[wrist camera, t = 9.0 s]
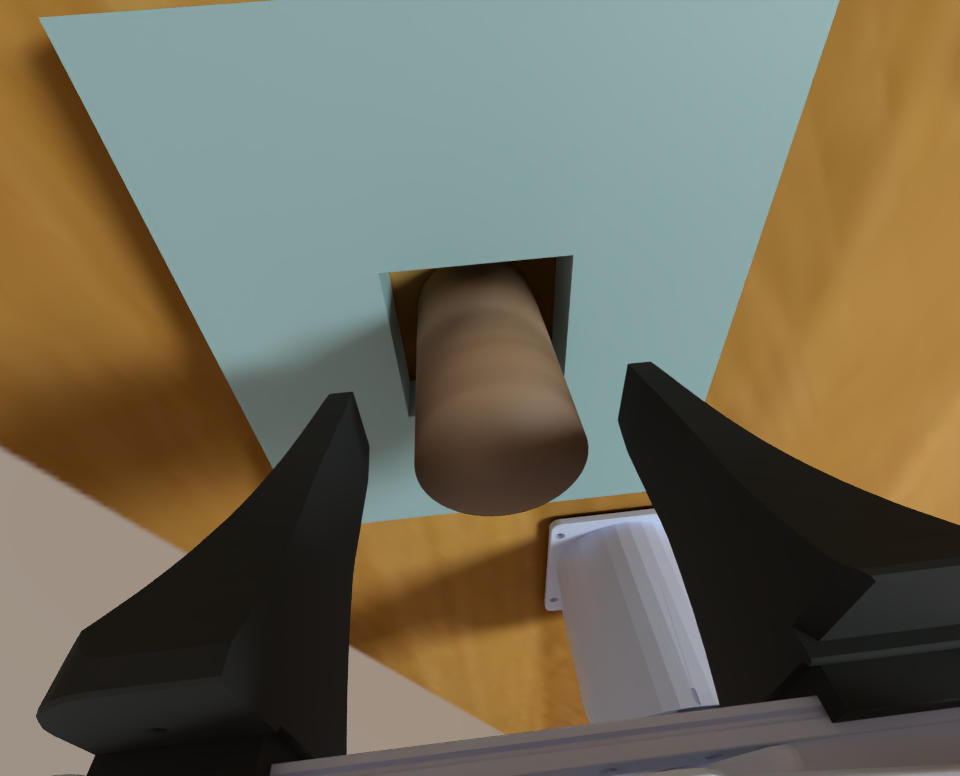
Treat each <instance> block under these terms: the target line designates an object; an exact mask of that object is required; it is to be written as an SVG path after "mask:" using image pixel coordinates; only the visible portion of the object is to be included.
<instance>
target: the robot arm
mask: <svg viewBox="0 0 960 776" xmlns="http://www.w3.org/2000/svg"><path fill="white" fill-rule="evenodd" d="M618 424H619V427H620V430H621V434H622V437H623V440H624V443H625V446H626V449H627V452H628V454H629V457H630V459H631V461H632V463H633V465H634V467H635V469H636V472H637V474H638V476H639V478H640V480H641V482H642V484H643V486H644V488H645V490H646V492H647V494H648V496H649V499H650V501H651V503H652V505H653V507H654V508H653V509H645V510H636V511H627V512H618V513H609V514H600V515H592V516H583V517H574V518H565V519H558V520H555V521H553V522H552V523H551V524H550V526H549V541H548V556H547V571H546V586H545V601H544V604H545V608H546V610H548V611H556V610H562V613H563V618H564V622H565V626H566V631H567V635H568V640H569V644H570V649H571V653H572V658H573V662H574V666H575V671H576V675H577V680H578V684H579V689H580V693H581V697H582V702H583V706H584V709H585V712H586V715H587V717H588V719H589V721H590V723H591V724H587V725H579V726H571V727H563V728H555V729H547V730H539V731H531V732H523V733H516V734H508V735H500V736H492V737H484V738H476V739H468V740H460V741H452V742H445V743H437V744H428V745H420V746H412V747H405V748H397V749H389V750H381V751H373V752H365V753H357V754H349V755H347V753H346V752H347V749H346V742H347V740H346V738H347V684H348V653H349V633H350V613H351V598H352V583H353V571H354V564H355V556H356V550H357V545H358V539H359V533H360V527H361V522H362V516H363V510H364V504H365V498H366V492H367V486H368V476H369V450H370V446H369V443H368V439H367V436H366V433H365V429H364V426H363V423H362V419H361V416H360V413H359V409H358V406H357V403H356V399H355V396H354V393H353V392H343V393H333V394H329V395H328V396H327V397H326V399H325V400H324V402H323V403H322V404H321V406H320V407H319V409H318V410H317V412H316V413H315V414H314V416H313V417H312V419H311V420H310V422H309V423H308V424H307V426H306V427H305V429H304V430H303V431H302V433H301V434H300V435H299V437H298V438H297V439H296V441H295V442H294V443H293V445H292V446H291V447H290V449H289V450H288V451H287V453H286V454H285V455H284V457H283V458H282V459H281V460H280V462H279V463H278V464H277V465H276V466H275V468H274V469H273V470H272V471H271V472H270V474H269V475H268V476H267V477H266V478H265V479H264V481H263V482H262V483H261V484H260V485H259V486H258V488H257V489H256V490H255V491H254V492H253V493H252V494H251V495H250V496H249V497H248V498H247V499H246V501H245V502H244V503H243V504H242V505H241V506H240V507H239V508H238V509H237V510H236V511H235V512H234V513H233V514H232V515H231V516H230V517H229V518H228V519H226V520H225V521H224V522H223V523H222V524H221V525H220V526H219V527H218V528H216V529H215V530H214V531H213V532H212V533H211V534H210V535H209V536H207V537H206V538H205V539H204V540H203V541H202V542H201V543H200V544H199V545H197V546H196V547H195V548H194V549H193V550H192V551H190V552H189V553H188V554H187V555H186V556H184V557H183V558H182V559H181V560H180V561H178V562H177V563H176V564H174V565H173V566H172V567H171V568H170V569H168V570H167V571H166V572H164V573H163V574H162V575H160V576H159V577H158V578H156V579H155V580H154V581H153V582H151V583H150V584H149V585H147V586H146V587H144V588H143V589H142V590H140V591H139V592H138V593H137V594H135V595H133V596H132V597H131V598H129V599H128V600H126V601H125V602H123V603H122V604H120V605H119V606H118V607H116V608H115V609H113V610H112V611H110V612H109V613H107V614H106V615H105V616H103V617H102V618H100V619H99V620H97V621H96V622H94V623H93V624H92V625H90V626H88V627H87V628H86V629H84V630H82V631H81V633H80V635H79V636H78V638H77V640H76V641H75V643H74V645H73V647H72V648H71V650H70V652H69V654H68V655H67V657H66V659H65V661H64V663H63V665H62V666H61V668H60V670H59V672H58V674H57V676H56V677H55V679H54V681H53V683H52V685H51V687H50V688H49V690H48V692H47V694H46V696H45V698H44V699H43V701H42V703H41V705H40V707H39V708H38V712H37V715H36V718H37V720H38V722H39V723H40V725H41V727H42V728H43V729H44V730H46V731H47V732H49V733H51V734H52V735H54V736H56V737H58V738H60V739H62V740H65V741H67V742H69V743H71V744H73V745H75V746H77V747H79V748H82V749H84V750H86V751H88V752H90V753H92V754H95V757H94V760H93V762H92V764H91V766H90V769H89V771H88V774H87V776H960V525H957V524H954V523H951V522H948V521H945V520H942V519H940V518H937V517H934V516H931V515H928V514H925V513H922V512H919V511H916V510H913V509H911V508H908V507H905V506H902V505H900V504H897V503H894V502H892V501H889V500H887V499H884V498H882V497H879V496H877V495H874V494H872V493H869V492H867V491H864V490H862V489H860V488H857V487H855V486H853V485H850V484H848V483H846V482H843V481H841V480H839V479H837V478H835V477H833V476H830V475H828V474H826V473H824V472H822V471H820V470H818V469H816V468H814V467H811V466H809V465H807V464H805V463H803V462H801V461H800V460H798V459H796V458H794V457H792V456H790V455H788V454H786V453H785V452H783V451H781V450H779V449H777V448H776V447H774V446H772V445H770V444H768V443H767V442H765V441H763V440H761V439H760V438H758V437H756V436H755V435H753V434H752V433H750V432H748V431H747V430H745V429H744V428H742V427H741V426H739V425H738V424H736V423H734V422H733V421H731V420H730V419H728V418H727V417H725V416H724V415H723V414H721V413H720V412H718V411H717V410H715V409H714V408H712V407H711V406H710V405H708V404H707V403H706V402H704V401H703V400H701V399H700V398H699V397H697V396H696V395H695V394H693V393H692V392H691V391H689V390H688V389H687V388H685V387H684V386H683V385H681V384H680V383H679V382H677V381H676V380H675V379H674V378H672V377H671V376H670V375H668V374H667V373H666V372H664V371H663V370H662V369H660V368H659V367H658V366H656V365H655V364H653V363H652V362H651V361H650V362H640V363H630V364H628V365H627V370H626V376H625V381H624V387H623V393H622V398H621V404H620V409H619V415H618ZM54 776H83V775H73V774H67V775H54Z"/></svg>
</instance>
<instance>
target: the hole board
mask: <svg viewBox="0 0 960 776" xmlns="http://www.w3.org/2000/svg"><path fill="white" fill-rule="evenodd" d="M838 3H839V0H274V1H260V2H246V3H233V4H219V5H205V6H192V7H178V8H164V9H151V10H137V11H123V12H110V13H96V14H83V15H69V16H55V17H42V18H39V19H40V21H41V23H42V25H43V27H44V29H45V31H46V33H47V35H48V37H49V39H50V41H51V43H52V44H53V46H54V48H55V50H56V52H57V54H58V56H59V58H60V60H61V62H62V64H63V66H64V68H65V69H66V71H67V73H68V75H69V77H70V79H71V81H72V83H73V85H74V87H75V89H76V91H77V93H78V95H79V96H80V98H81V100H82V102H83V104H84V106H85V108H86V110H87V112H88V114H89V116H90V118H91V120H92V121H93V123H94V125H95V127H96V129H97V131H98V133H99V135H100V137H101V139H102V141H103V143H104V145H105V147H106V148H107V150H108V152H109V154H110V156H111V158H112V160H113V162H114V164H115V166H116V168H117V170H118V172H119V173H120V175H121V177H122V179H123V181H124V183H125V185H126V187H127V189H128V191H129V193H130V195H131V197H132V198H133V200H134V202H135V204H136V206H137V208H138V210H139V212H140V214H141V216H142V218H143V220H144V222H145V224H146V225H147V227H148V229H149V231H150V233H151V235H152V237H153V239H154V241H155V243H156V245H157V247H158V249H159V250H160V252H161V254H162V256H163V258H164V260H165V262H166V264H167V266H168V268H169V270H170V272H171V274H172V276H173V277H174V279H175V281H176V283H177V285H178V287H179V289H180V291H181V293H182V295H183V297H184V299H185V301H186V302H187V304H188V306H189V308H190V310H191V312H192V314H193V316H194V318H195V320H196V322H197V324H198V326H199V328H200V329H201V331H202V333H203V335H204V337H205V339H206V341H207V343H208V345H209V347H210V349H211V351H212V353H213V354H214V356H215V358H216V360H217V362H218V364H219V366H220V368H221V370H222V372H223V374H224V376H225V378H226V380H227V381H228V383H229V385H230V387H231V389H232V391H233V393H234V395H235V397H236V399H237V401H238V403H239V405H240V406H241V408H242V410H243V412H244V414H245V416H246V418H247V420H248V422H249V424H250V426H251V428H252V430H253V431H254V433H255V435H256V437H257V439H258V441H259V443H260V445H261V447H262V449H263V451H264V453H265V455H266V457H267V458H268V460H269V462H270V464H271V466H272V468H273V469H274V468H275V466H276V465H277V464H278V463H279V462H280V460H281V459H282V458H283V457H284V455H285V454H286V453H287V451H288V450H289V449H290V447H291V446H292V445H293V443H294V442H295V441H296V439H297V438H298V437H299V435H300V434H301V433H302V431H303V430H304V429H305V427H306V426H307V424H308V423H309V422H310V420H311V419H312V417H313V416H314V414H315V413H316V412H317V410H318V409H319V407H320V406H321V404H322V403H323V402H324V400H325V399H326V397H327V396H328V395H329V394H333V393H343V392H353V393H354V396H355V399H356V403H357V406H358V409H359V413H360V416H361V419H362V423H363V426H364V429H365V433H366V436H367V439H368V443H369V446H370V450H369V476H368V486H367V492H366V498H365V504H364V510H363V516H362V522H361V523H369V522H378V521H387V520H396V519H405V518H414V517H423V516H431V515H440V514H449V513H458V512H457V511H454V510H451V509H449V508H446V507H444V506H443V505H441V504H439V503H437V502H436V501H434V500H433V499H432V498H431V497H430V496H428V495H427V494H426V493H425V491H424V490H423V489H422V488H421V486H420V484H419V482H418V480H417V477H416V474H415V468H414V452H415V404H416V380H415V381H410V378H409V373H408V368H407V363H406V358H405V353H404V348H403V343H402V338H401V332H400V327H399V322H398V317H397V312H396V307H395V302H394V297H393V292H392V287H391V282H390V276H389V272H398V271H409V270H420V269H430V268H441V267H452V266H462V265H473V264H484V263H494V262H505V261H516V260H526V259H537V258H547V257H556V272H555V292H554V311H553V331H552V345H553V348H554V351H555V353H556V356H557V359H558V362H559V364H560V367H561V370H562V372H563V375H564V378H565V380H566V383H567V386H568V388H569V391H570V394H571V396H572V399H573V402H574V404H575V407H576V410H577V412H578V415H579V418H580V421H581V423H582V426H583V429H584V431H585V434H586V437H587V440H588V446H589V450H588V458H587V462H586V465H585V467H584V470H583V471H582V473H581V474H580V476H579V477H578V479H577V480H576V481H575V482H574V484H573V485H572V486H570V487H569V488H568V489H567V490H566V491H565V492H564V493H562V494H561V495H560V496H558V497H556V498H555V499H553V500H552V501H550V502H556V501H565V500H574V499H583V498H592V497H601V496H610V495H619V494H628V493H637V492H646V490H645V488H644V486H643V484H642V482H641V480H640V478H639V476H638V474H637V472H636V469H635V467H634V465H633V463H632V461H631V459H630V457H629V454H628V452H627V449H626V446H625V443H624V440H623V437H622V434H621V430H620V427H619V424H618V415H619V409H620V404H621V398H622V393H623V387H624V381H625V376H626V370H627V365H628V364H630V363H640V362H650V361H651V362H652V363H653V364H655V365H656V366H658V367H659V368H660V369H662V370H663V371H664V372H666V373H667V374H668V375H670V376H671V377H672V378H674V379H675V380H676V381H677V382H679V383H680V384H681V385H683V386H684V387H685V388H687V389H688V390H689V391H691V392H692V393H693V394H695V395H696V396H697V397H699V398H700V399H701V400H703V401H704V402H705V399H706V396H707V393H708V390H709V387H710V384H711V381H712V378H713V375H714V372H715V370H716V367H717V364H718V361H719V358H720V355H721V352H722V349H723V346H724V343H725V340H726V337H727V334H728V331H729V328H730V325H731V322H732V319H733V316H734V313H735V310H736V307H737V304H738V301H739V298H740V295H741V292H742V289H743V286H744V283H745V280H746V277H747V274H748V271H749V268H750V265H751V262H752V259H753V256H754V253H755V250H756V247H757V244H758V241H759V239H760V236H761V233H762V230H763V227H764V224H765V221H766V218H767V215H768V212H769V209H770V206H771V203H772V200H773V197H774V194H775V191H776V188H777V185H778V182H779V179H780V176H781V173H782V170H783V167H784V164H785V161H786V158H787V155H788V152H789V149H790V146H791V143H792V140H793V137H794V134H795V131H796V128H797V125H798V122H799V119H800V116H801V113H802V111H803V108H804V105H805V102H806V99H807V96H808V93H809V90H810V87H811V84H812V81H813V78H814V75H815V72H816V69H817V66H818V63H819V60H820V57H821V54H822V51H823V48H824V45H825V42H826V39H827V36H828V33H829V30H830V27H831V24H832V21H833V18H834V15H835V12H836V9H837V6H838Z"/></svg>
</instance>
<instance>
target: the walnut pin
mask: <svg viewBox="0 0 960 776" xmlns="http://www.w3.org/2000/svg"><path fill="white" fill-rule="evenodd" d="M588 450H589V446H588V440H587V437H586V434H585V431H584V429H583V426H582V423H581V421H580V418H579V415H578V412H577V410H576V407H575V404H574V402H573V399H572V396H571V394H570V391H569V388H568V386H567V383H566V380H565V378H564V375H563V372H562V370H561V367H560V364H559V362H558V359H557V356H556V353H555V351H554V348H553V345H552V343H551V340H550V337H549V335H548V332H547V329H546V327H545V324H544V321H543V319H542V316H541V313H540V311H539V308H538V305H537V303H536V300H535V297H534V294H533V292H532V289H531V286H530V284H529V282H528V280H527V278H526V277H525V276H524V274H523V273H522V272H521V271H520V270H519V269H518V268H517V267H516V266H514V265H513V264H511V263H510V262H508V261H505V262H494V263H484V264H473V265H462V266H452V267H441V268H437V269H436V270H435V271H434V272H433V273H432V274H431V275H430V276H429V277H428V279H427V280H426V281H425V283H424V285H423V287H422V289H421V292H420V294H419V299H418V308H417V356H416V404H415V452H414V468H415V474H416V477H417V480H418V482H419V484H420V486H421V488H422V489H423V490H424V491H425V493H426V494H427V495H428V496H430V497H431V498H432V499H433V500H434V501H436V502H437V503H439V504H441V505H443V506H444V507H446V508H449V509H451V510H454V511H457V512H461V513H464V514H470V515H477V516H504V515H511V514H516V513H521V512H525V511H528V510H531V509H534V508H537V507H539V506H542V505H544V504H546V503H548V502H550V501H552V500H553V499H555V498H556V497H558V496H560V495H561V494H562V493H564V492H565V491H566V490H567V489H568V488H569V487H570V486H572V485H573V484H574V482H575V481H576V480H577V479H578V477H579V476H580V474H581V473H582V471H583V470H584V467H585V465H586V462H587V458H588Z"/></svg>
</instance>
